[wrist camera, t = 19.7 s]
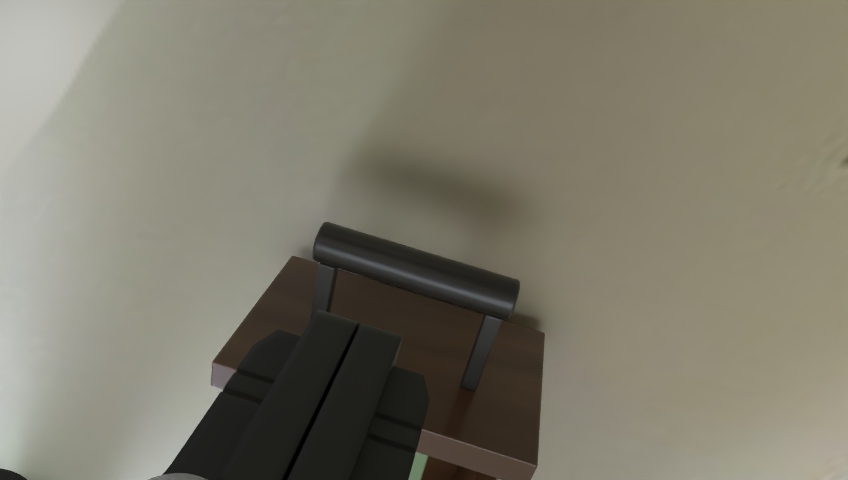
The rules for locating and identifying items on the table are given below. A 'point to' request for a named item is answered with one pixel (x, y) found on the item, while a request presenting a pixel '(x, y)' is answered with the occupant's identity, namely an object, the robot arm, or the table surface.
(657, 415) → the table surface
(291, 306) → the drawer
